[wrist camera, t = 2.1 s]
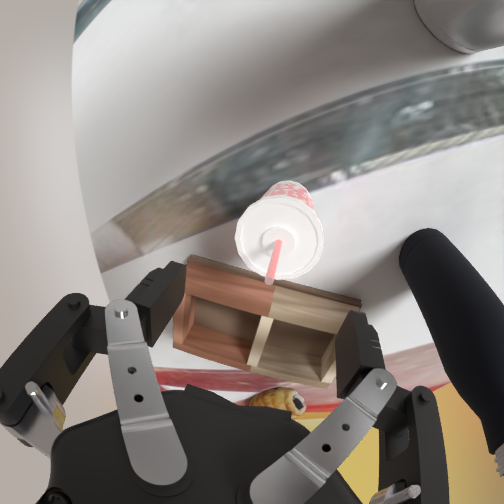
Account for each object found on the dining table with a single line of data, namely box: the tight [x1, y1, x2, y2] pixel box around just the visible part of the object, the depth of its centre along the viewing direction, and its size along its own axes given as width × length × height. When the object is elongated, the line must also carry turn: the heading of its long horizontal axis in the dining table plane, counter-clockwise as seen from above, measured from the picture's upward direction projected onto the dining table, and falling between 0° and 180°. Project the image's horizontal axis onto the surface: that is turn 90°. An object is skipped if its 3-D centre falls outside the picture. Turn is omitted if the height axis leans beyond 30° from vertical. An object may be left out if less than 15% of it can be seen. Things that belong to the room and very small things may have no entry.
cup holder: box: [173, 254, 362, 389], centre depth 31 cm, size 11×20×5 cm, turn 78°
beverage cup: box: [235, 180, 324, 285], centre depth 21 cm, size 6×6×14 cm
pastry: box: [249, 388, 306, 419], centre depth 40 cm, size 9×7×4 cm
